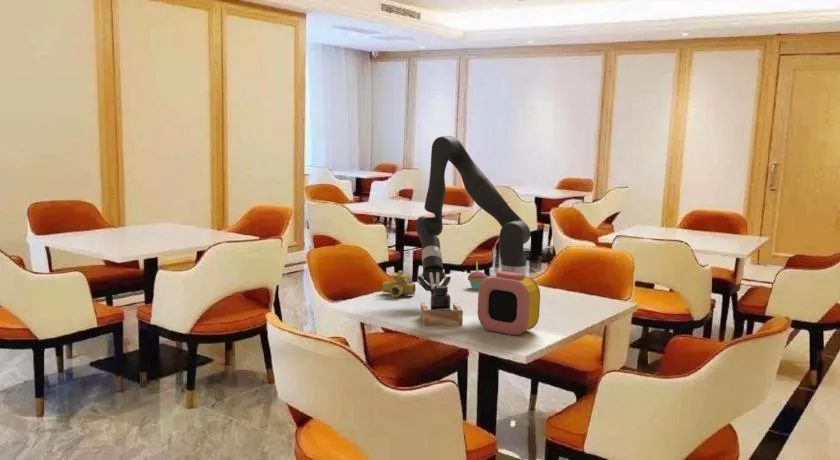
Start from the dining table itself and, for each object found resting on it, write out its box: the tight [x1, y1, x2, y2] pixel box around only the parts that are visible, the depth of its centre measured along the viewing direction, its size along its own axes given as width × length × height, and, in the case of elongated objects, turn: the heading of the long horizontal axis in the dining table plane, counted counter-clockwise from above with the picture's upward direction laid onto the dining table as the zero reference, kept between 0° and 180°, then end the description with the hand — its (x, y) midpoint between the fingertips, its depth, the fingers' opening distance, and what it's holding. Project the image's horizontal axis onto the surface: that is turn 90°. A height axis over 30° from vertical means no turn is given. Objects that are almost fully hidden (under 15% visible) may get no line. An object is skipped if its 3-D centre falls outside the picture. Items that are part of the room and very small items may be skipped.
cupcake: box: [467, 261, 489, 290], centre depth 310 cm, size 9×8×12 cm
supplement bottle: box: [430, 284, 451, 310], centre depth 254 cm, size 7×7×12 cm
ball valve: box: [381, 270, 416, 298], centre depth 292 cm, size 13×10×10 cm
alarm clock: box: [477, 270, 541, 336], centre depth 243 cm, size 18×11×19 cm, turn 56°
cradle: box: [420, 302, 464, 326], centre depth 254 cm, size 12×13×5 cm
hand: (435, 299), depth 267 cm, fingers closed
